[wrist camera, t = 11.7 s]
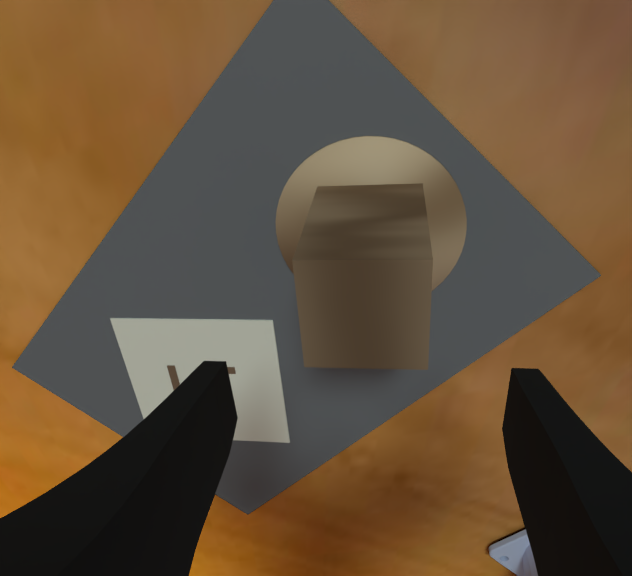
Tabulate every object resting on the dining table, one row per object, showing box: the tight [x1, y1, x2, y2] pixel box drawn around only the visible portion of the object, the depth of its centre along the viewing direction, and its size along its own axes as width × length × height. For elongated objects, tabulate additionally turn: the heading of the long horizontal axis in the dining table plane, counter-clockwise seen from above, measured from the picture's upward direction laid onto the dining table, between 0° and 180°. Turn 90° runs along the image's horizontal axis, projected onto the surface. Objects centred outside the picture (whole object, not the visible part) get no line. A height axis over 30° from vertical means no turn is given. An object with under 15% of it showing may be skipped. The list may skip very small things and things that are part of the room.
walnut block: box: [292, 183, 433, 370], centre depth 18 cm, size 4×4×6 cm
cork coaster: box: [276, 136, 467, 290], centre depth 21 cm, size 8×8×1 cm
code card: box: [110, 318, 290, 443], centre depth 27 cm, size 8×8×1 cm
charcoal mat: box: [12, 0, 601, 514], centre depth 24 cm, size 16×24×1 cm, turn 139°
